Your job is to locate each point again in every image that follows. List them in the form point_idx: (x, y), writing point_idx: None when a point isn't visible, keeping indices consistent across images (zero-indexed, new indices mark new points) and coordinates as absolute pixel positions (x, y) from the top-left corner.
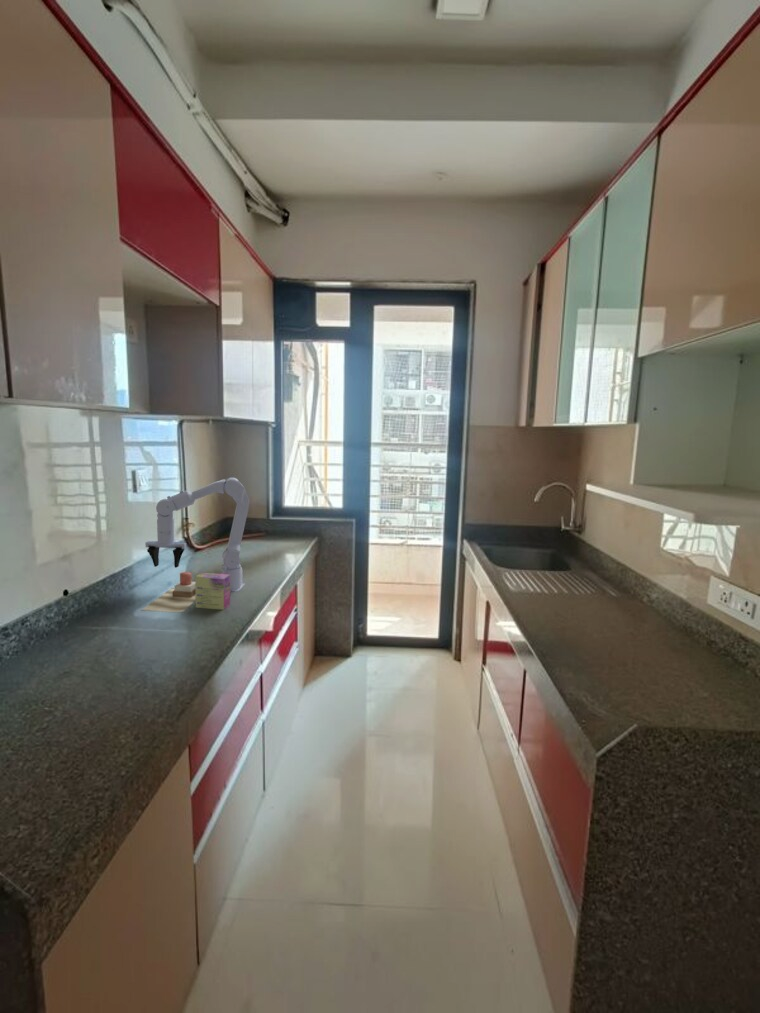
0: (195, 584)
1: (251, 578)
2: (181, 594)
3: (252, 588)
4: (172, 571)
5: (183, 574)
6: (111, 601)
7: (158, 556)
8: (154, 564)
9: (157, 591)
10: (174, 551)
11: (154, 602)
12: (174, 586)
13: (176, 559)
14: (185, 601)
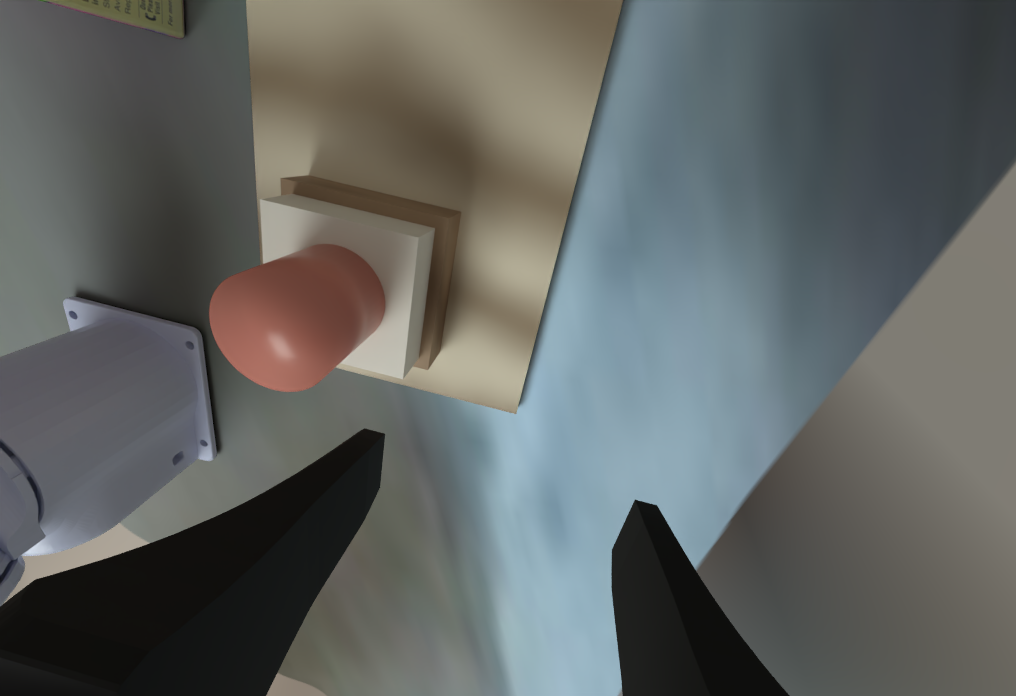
0: None
1: (130, 518)
2: (379, 196)
3: None
4: (576, 686)
5: (277, 296)
6: (993, 172)
7: (623, 691)
8: (660, 524)
9: (609, 383)
10: (103, 633)
11: (584, 51)
12: (420, 236)
13: (271, 493)
14: (320, 62)
